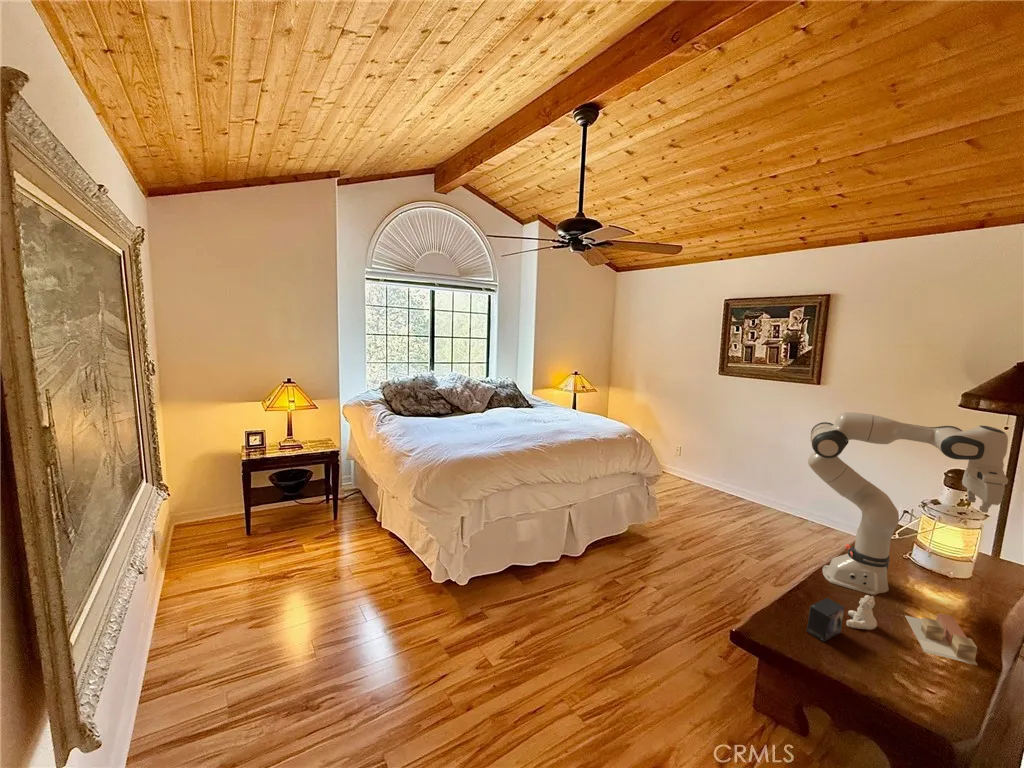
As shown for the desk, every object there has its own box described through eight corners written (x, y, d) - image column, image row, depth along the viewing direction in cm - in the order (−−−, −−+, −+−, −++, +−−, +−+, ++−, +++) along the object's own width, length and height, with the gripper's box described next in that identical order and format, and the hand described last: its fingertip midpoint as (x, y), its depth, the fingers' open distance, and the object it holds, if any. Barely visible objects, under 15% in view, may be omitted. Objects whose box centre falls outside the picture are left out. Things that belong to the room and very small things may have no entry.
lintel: (950, 645, 156) (951, 634, 156) (935, 622, 168) (937, 612, 167) (965, 649, 155) (967, 638, 154) (950, 626, 166) (952, 616, 165)
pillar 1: (925, 637, 160) (927, 624, 159) (920, 629, 164) (922, 617, 163) (942, 641, 158) (944, 628, 157) (937, 633, 162) (939, 620, 161)
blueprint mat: (924, 652, 154) (924, 651, 153) (904, 616, 172) (904, 615, 172) (978, 666, 148) (978, 665, 148) (951, 627, 166) (951, 625, 166)
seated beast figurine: (847, 613, 174) (851, 584, 172) (876, 622, 168) (881, 593, 166) (845, 626, 166) (849, 596, 164) (876, 637, 161) (880, 606, 159)
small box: (825, 643, 158) (828, 616, 156) (805, 631, 164) (808, 605, 162) (842, 633, 163) (845, 606, 161) (822, 622, 168) (826, 596, 167)
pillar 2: (956, 656, 151) (958, 643, 150) (950, 647, 155) (953, 634, 154) (974, 661, 149) (977, 647, 148) (968, 652, 153) (971, 638, 152)
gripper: (960, 460, 177) (953, 494, 179) (986, 478, 159) (978, 515, 161) (982, 463, 174) (975, 497, 177) (1011, 481, 156) (1003, 519, 159)
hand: (977, 506), depth 169 cm, fingers open, 8 cm apart
